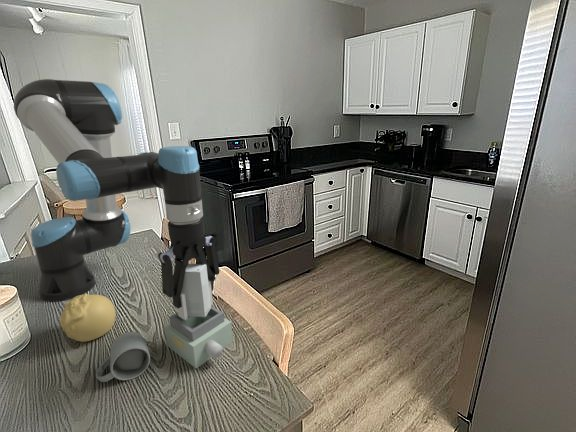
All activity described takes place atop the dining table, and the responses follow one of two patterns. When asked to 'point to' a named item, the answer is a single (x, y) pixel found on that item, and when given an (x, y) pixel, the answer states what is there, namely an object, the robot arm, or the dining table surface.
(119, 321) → the dining table surface
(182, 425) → the dining table surface
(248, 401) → the dining table surface
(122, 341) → the ceramic mug
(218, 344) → the green open box
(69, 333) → the sculpture
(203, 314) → the skincare box
